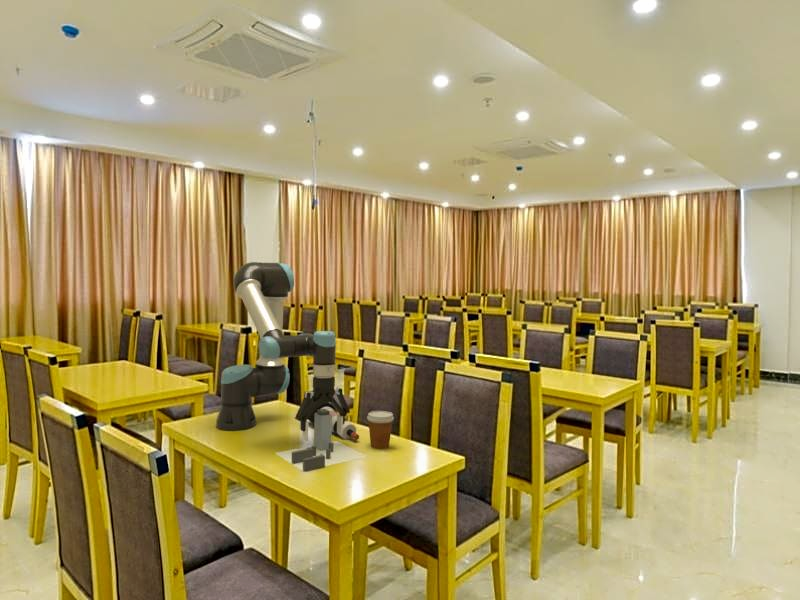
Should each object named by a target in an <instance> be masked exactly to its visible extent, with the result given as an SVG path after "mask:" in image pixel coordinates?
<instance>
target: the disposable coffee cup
mask: <svg viewBox="0 0 800 600" xmlns="http://www.w3.org/2000/svg"><path fill="white" fill-rule="evenodd" d="M366 418H367V422H368V429H369V431H368V432H369V441H370V442H369V443H370V447H371V448H372V449H375V450H384V449H387V448H389V446H390V440H391V435H392V428H393V427H392V426H393V422H394V419H395V417H394V413H393V412H391V411H385V410H373V411H370V412H368V414H367V416H366Z"/></svg>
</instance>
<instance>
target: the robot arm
mask: <svg viewBox="0 0 800 600" xmlns="http://www.w3.org/2000/svg"><path fill="white" fill-rule="evenodd" d="M294 287H295V277H294V272H293V270H292V268H291V267H290V266H289V264H287V263H282V262H258V261H257V262H256V261H255V262H254V261H253V262H252V261H250V262H248V263H244V264H243V265H242V266H240V267H239V268H238V269H237V270H236V273H235V275H234V277H233V288H234V292H235V294H236V297H238V298H239V299H242V302H243V304H244V306H245V308H246V310H247V312H248V315H249V317H250V318H251V321H252V323H253V324H254V328H255V329H256V330H257V333H258V336H259V338H260V339H259V341H258V353H259V358H258V359H257V360H256V361H255V366H254V367H253V366H252V364H236V365H231V366H229V367H225V368H224V369H223V371H222V372H221V378H220V383H221V384H220V386H221V387H220V389H221V390H220V392H221V393H220V409H219V411H218V414H217V418H216V421H215V427H216V428H217V429H219V430H224V431H242V430H247V429H251V428H253V427H255V426H256V425H257V418H256V414H255V412H254V407H253V406H252V405H253V404H252V403H253V401H252V400H253V398H258V397H266V396H267V397H268V396H275V395H279V394H283V393H284V392H285V391H286V390H287V388H288V387H289V384H290V378H291V376H290V375H291V373H290V370H289V368H288V366H287V365H285V361H284V360H283V358H295V357H296V358H298V357H306V356H307V357H312V358H313V359H312V361H313V362H312V375H313V377H312V391H311V392H310V391H307V390H306V391H304V394H303V399H302V400H301V403H300V406H299V408H298V410H297V413H296V414H295V417H294V418H295V420H297V421H299V422H300V428H299V429H300V431H301V432H302V437H301V438H302V440H303V441H305V442H308V441H309V420H308V418H309V416H310V415H311V414H312V412H313V411H314V409H315V408H316V406H318V405H319V403H320V404H323V403H330V404H332V405H333V407H334V408H335V409H336V412H337V413H338V414H340V415H337V433H338V434H340V435H343V424H344V423H345V419H346V417H347V415H348V414H349V413H350V412H351V411H350V407H349V405H348V403H347V401H346V398H345V397H344V395H343V394H344V392H343V389H342V388H340V387H336V388H335V385H336V377H335V374H336V348H337V347H336V346H337V345H336V344H337V342H336V333H335V332H334V331H331V330H329V331H328V330H318V331H314V333H313V334H311V333H301V334H294V335H293V334H292V335H285V334H284V333H283V327H284V325H283V323H284V302H285V300H286V299H287V298H288V297H289V296H288V295H289V293H290V292H292V291H293V290H294ZM335 395H336V397H337V400H338V401H339V403H338V402H337V400H336V399H335V398H334V396H335ZM312 396H313V397H314V398H313V399H312V401H311V403H310V405H309V406H308V404H309V402H310V399H311V398H312ZM315 401H316V402H315ZM339 404H340V405H339ZM307 406H308V408H307ZM306 408H307V409H306Z"/></svg>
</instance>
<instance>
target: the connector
mask: <svg viewBox="0 0 800 600" xmlns="http://www.w3.org/2000/svg"><path fill="white" fill-rule="evenodd" d="M313 425H314V427H313V428H314V429H313V430H314V431H313V433H314V434H313V446H316V448H317V449H318V450H320V451H323V450H326V449H329V443H331V442H332V435H333V434H332V433H333V432H332V414H329V411H328V410H326V409H319V410H317V413H315V420H314V424H313Z"/></svg>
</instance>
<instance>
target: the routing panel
mask: <svg viewBox="0 0 800 600" xmlns="http://www.w3.org/2000/svg"><path fill="white" fill-rule="evenodd" d="M274 455H277V456H278V457H280V458H281V459H282V460H285V461H286V462H287V463H289V464H290V465H292V466H294V467H295V468H297V469H298V470H300V471H301V472H308V471H312V470H317V469H320V468H325V467H329V466H333V465H338V464H341V463H346V462H352V461H354V460H360V459H363V458H367V457H368V456H367V455H365V454H363V453H361V452H359V451H357V450H355V449H353V448H352V447H350V446H347V445H345V444H343V443H341V442H339V441H336V440H335V441H331V443H329V449H326V450H323V451H320V450H318V449H317V448H316V446H314V445H310V446H304V447H299V448H298V447H297V448H295V449H289V450H283V451H279V452H278V451H277V452H275V453H274Z"/></svg>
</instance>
